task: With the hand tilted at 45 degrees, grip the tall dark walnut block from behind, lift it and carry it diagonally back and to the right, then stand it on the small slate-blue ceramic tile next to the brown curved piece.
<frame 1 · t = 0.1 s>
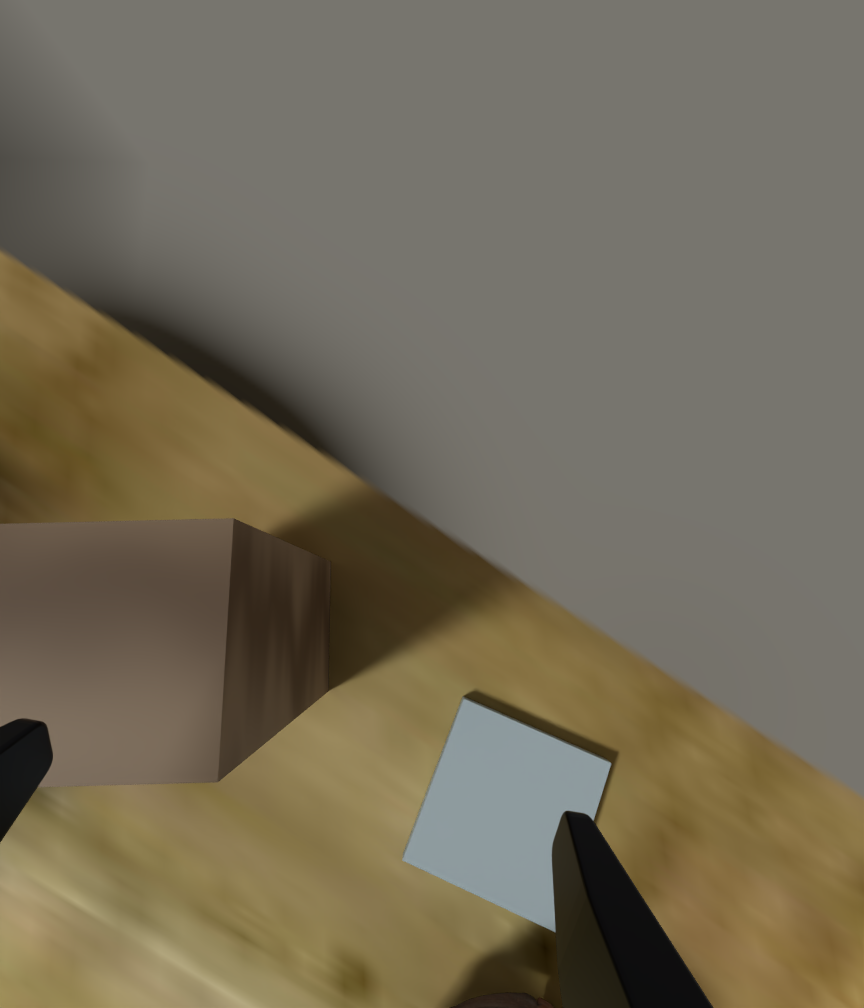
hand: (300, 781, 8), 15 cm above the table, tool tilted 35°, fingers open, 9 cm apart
walnut block: (266, 626, 23), on the table
slate-blue tile: (506, 805, 22), on the table
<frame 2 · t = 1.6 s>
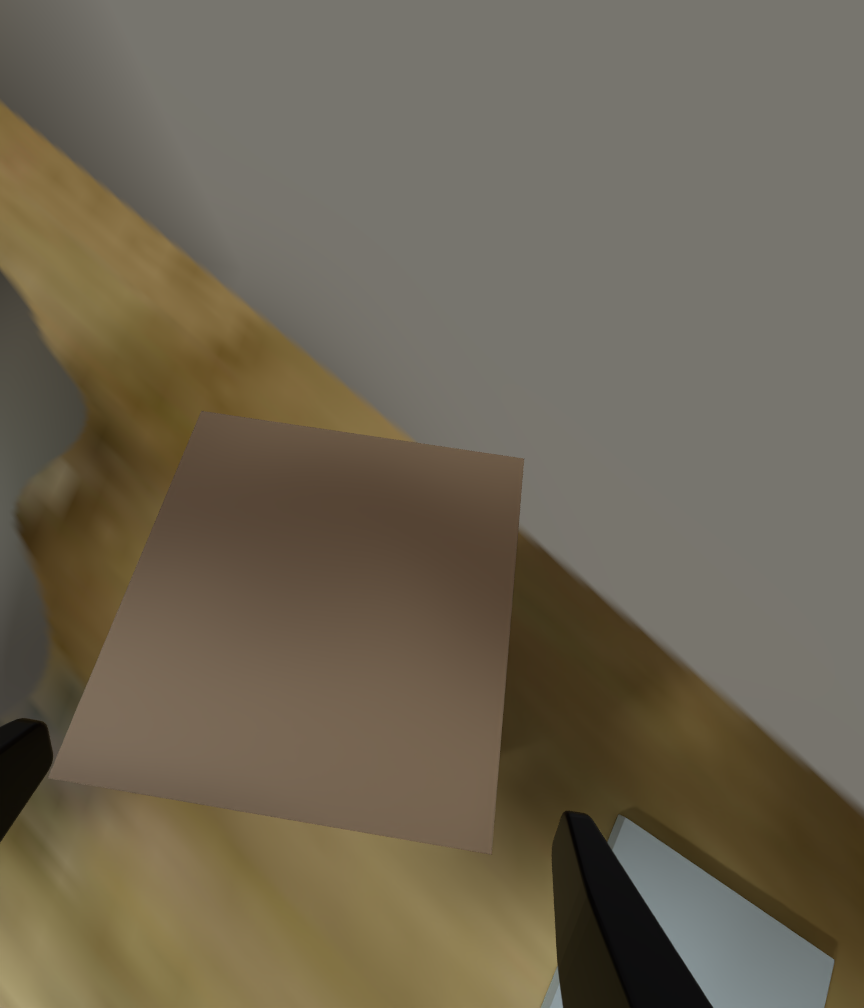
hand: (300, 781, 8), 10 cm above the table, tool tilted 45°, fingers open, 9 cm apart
walnut block: (375, 670, 19), on the table
slate-blue tile: (677, 998, 15), on the table
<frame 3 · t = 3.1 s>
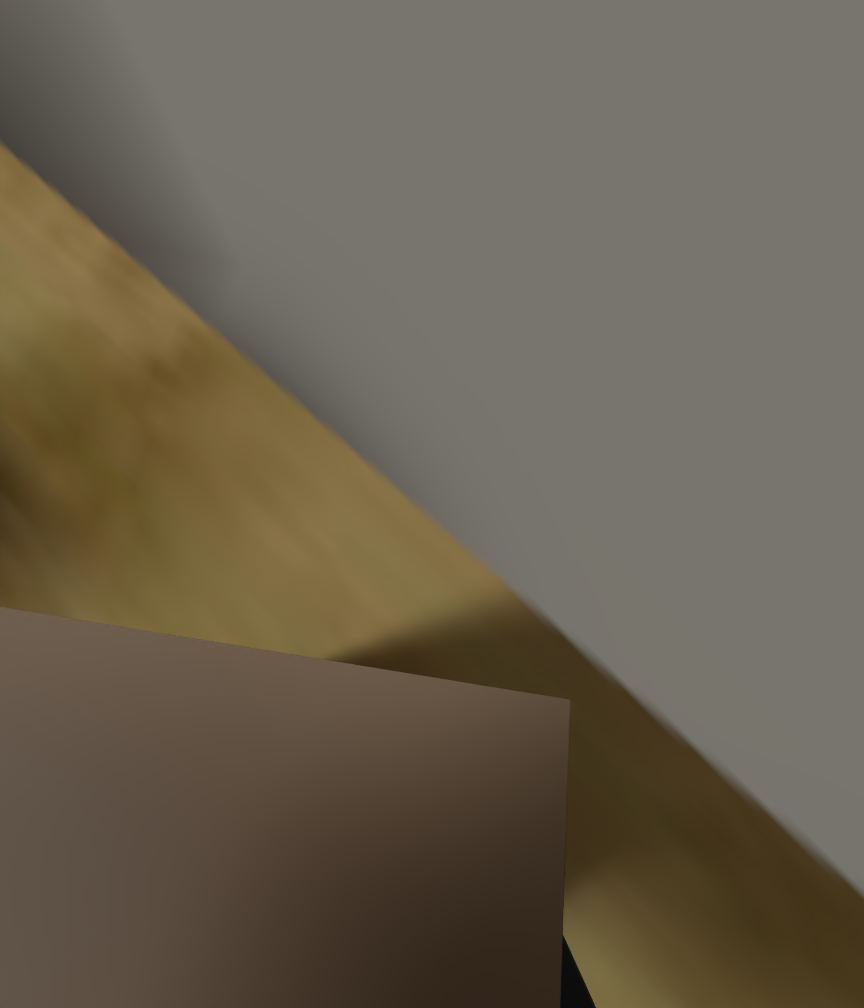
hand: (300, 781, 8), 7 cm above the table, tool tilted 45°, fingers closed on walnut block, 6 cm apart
walnut block: (337, 809, 14), on the table, touching gripper
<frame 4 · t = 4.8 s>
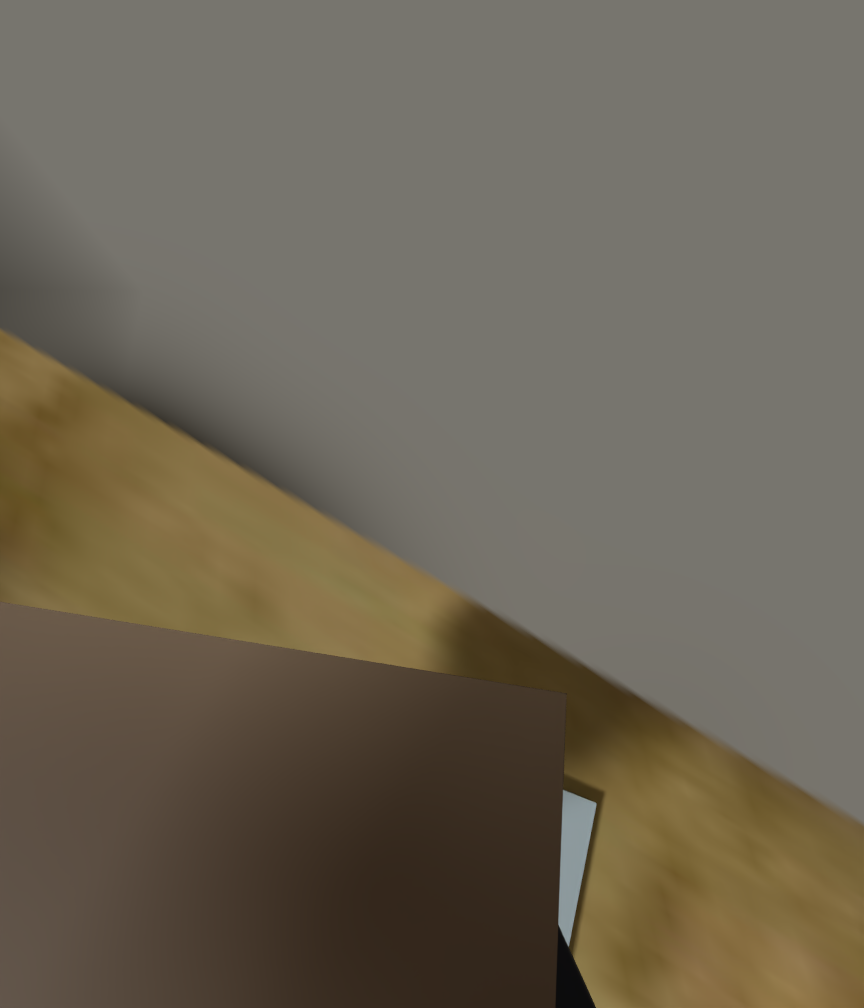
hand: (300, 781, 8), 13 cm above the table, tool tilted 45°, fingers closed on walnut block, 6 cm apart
walnut block: (336, 807, 14), point 7 cm above the table, touching gripper
slate-blue tile: (484, 863, 19), on the table
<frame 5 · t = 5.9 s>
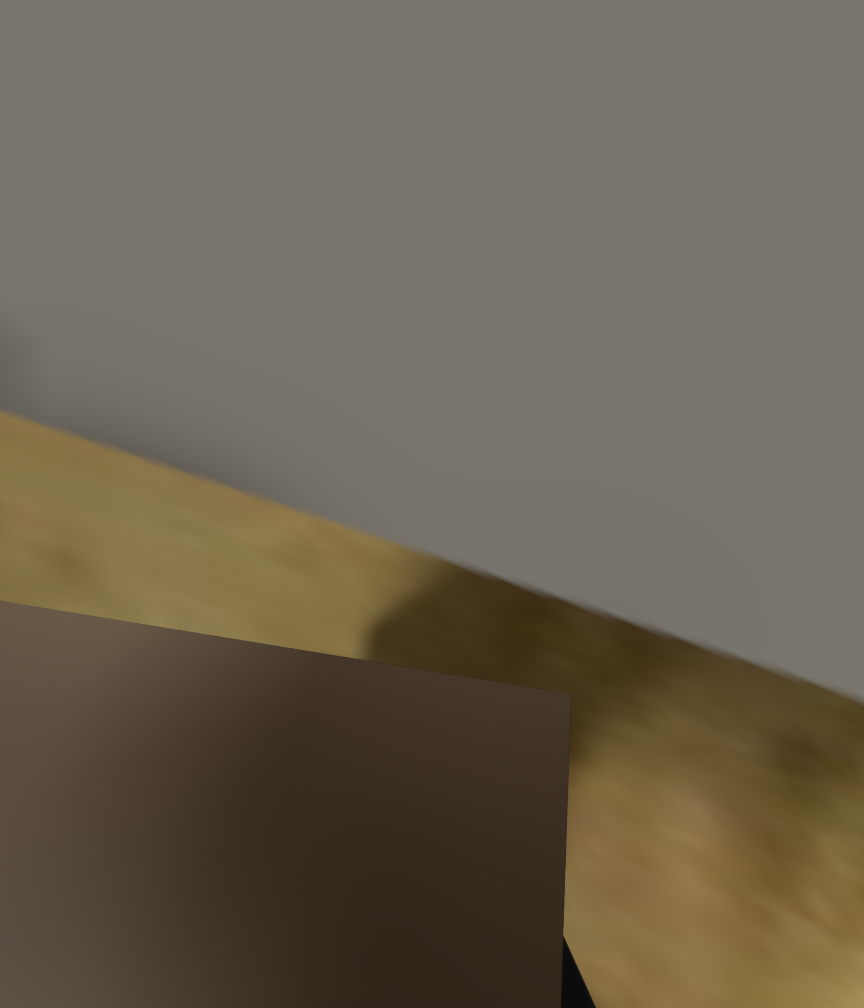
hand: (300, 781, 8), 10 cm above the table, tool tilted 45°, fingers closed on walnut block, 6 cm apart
walnut block: (337, 807, 14), point 3 cm above the table, touching gripper
when the fingers open (8 cm above the table, at t = 6.6 s): walnut block drops 1 cm, resting on slate-blue tile.
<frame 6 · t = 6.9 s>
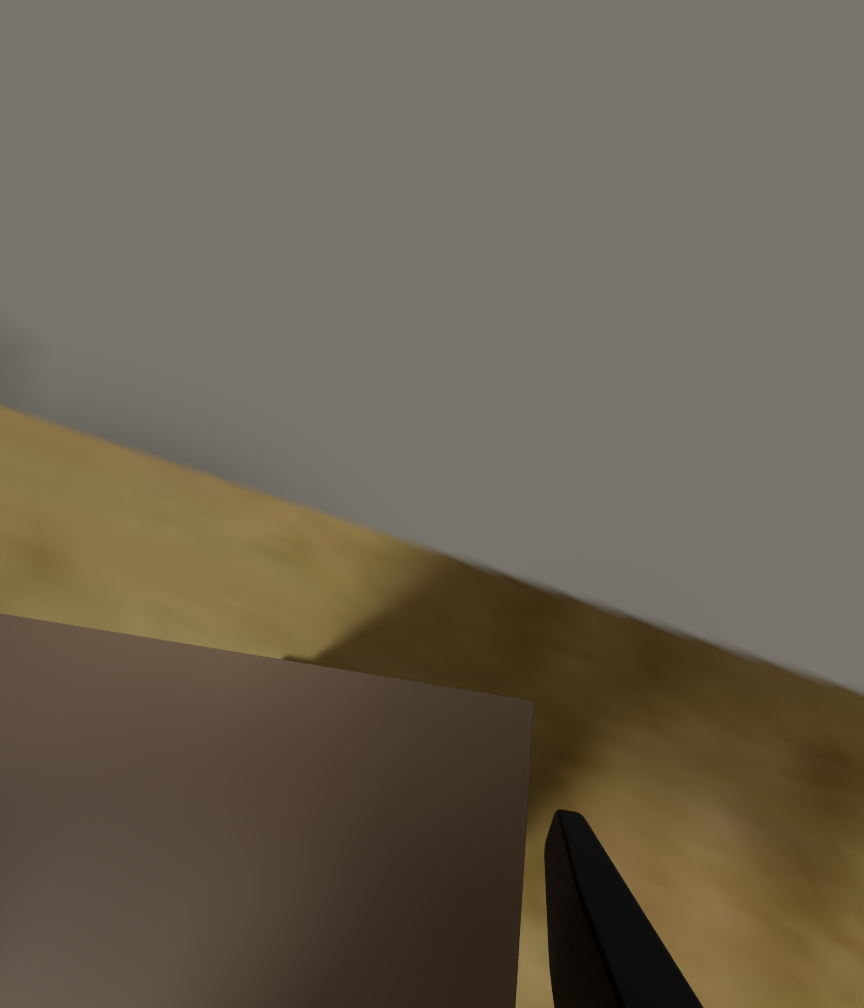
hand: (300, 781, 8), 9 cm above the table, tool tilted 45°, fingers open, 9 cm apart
walnut block: (344, 800, 15), point 1 cm above the table, touching slate-blue tile
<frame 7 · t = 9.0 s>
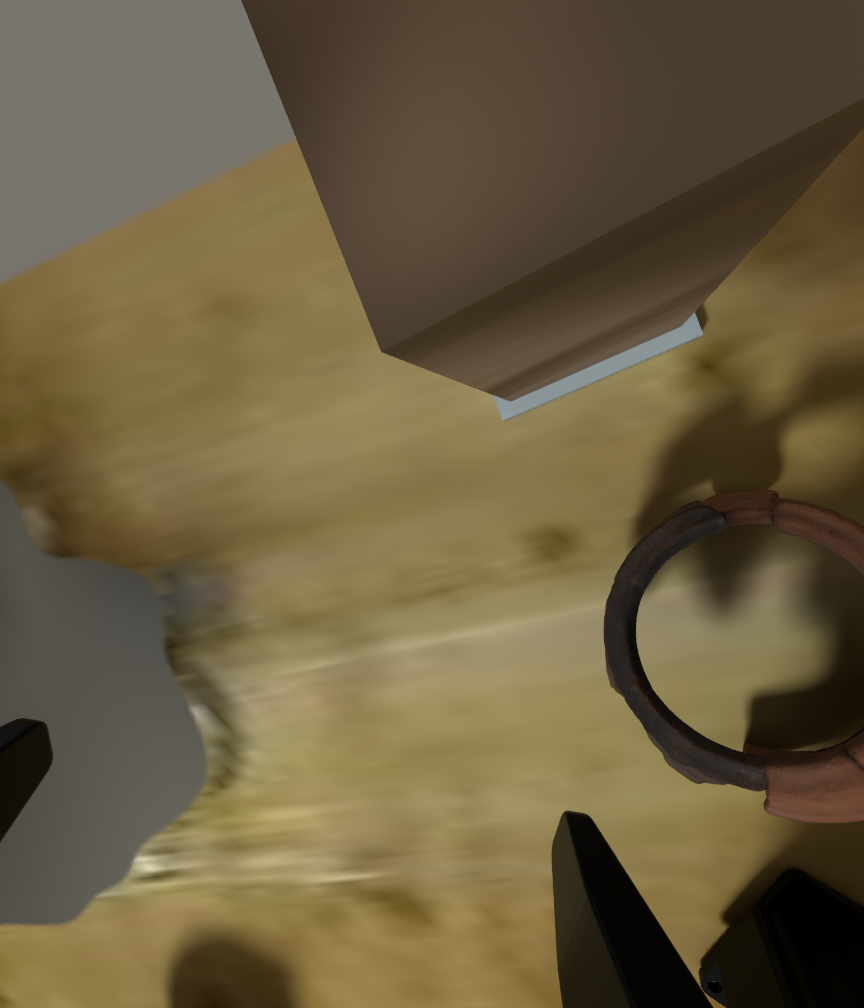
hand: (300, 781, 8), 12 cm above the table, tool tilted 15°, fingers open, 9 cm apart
walnut block: (559, 285, 17), point 1 cm above the table, touching slate-blue tile
brown curved piece: (782, 619, 17), on the table
slate-blue tile: (560, 290, 17), on the table
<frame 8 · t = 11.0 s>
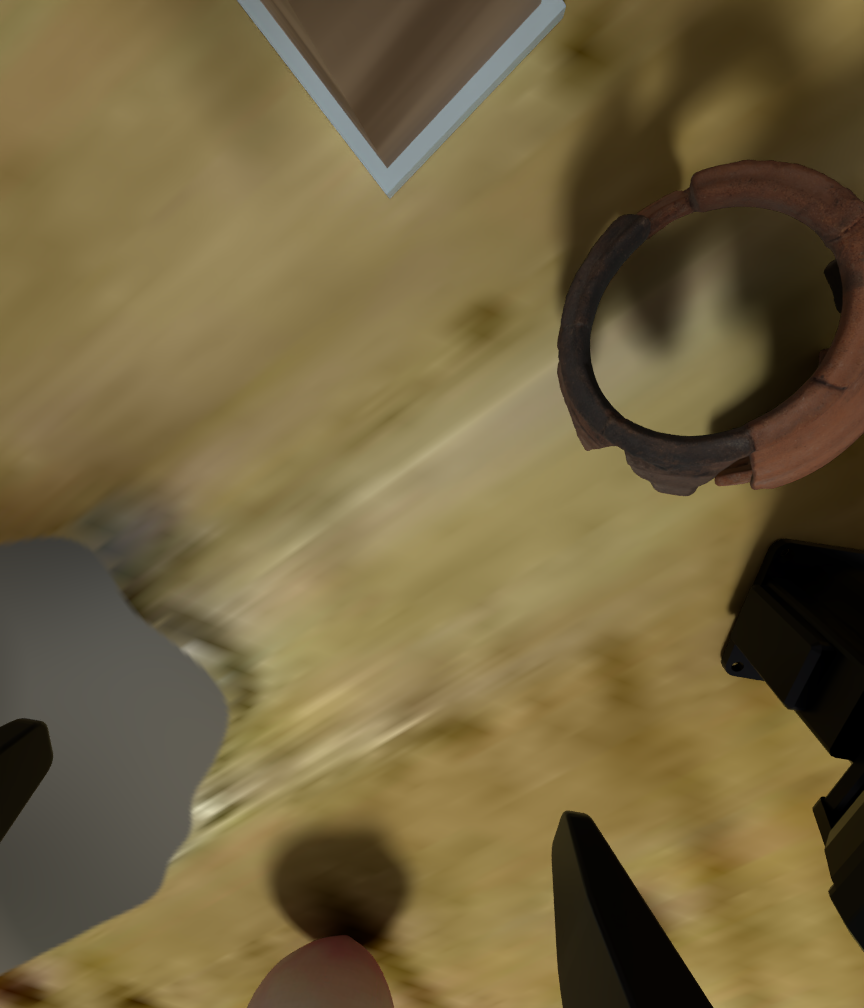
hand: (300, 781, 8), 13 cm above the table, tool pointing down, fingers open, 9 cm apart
brown curved piece: (717, 334, 17), on the table
decorative fruit: (338, 930, 32), on the table
slate-blue tile: (397, 9, 15), on the table
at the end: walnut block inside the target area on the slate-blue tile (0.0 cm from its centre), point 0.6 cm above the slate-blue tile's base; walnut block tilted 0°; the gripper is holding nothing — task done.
